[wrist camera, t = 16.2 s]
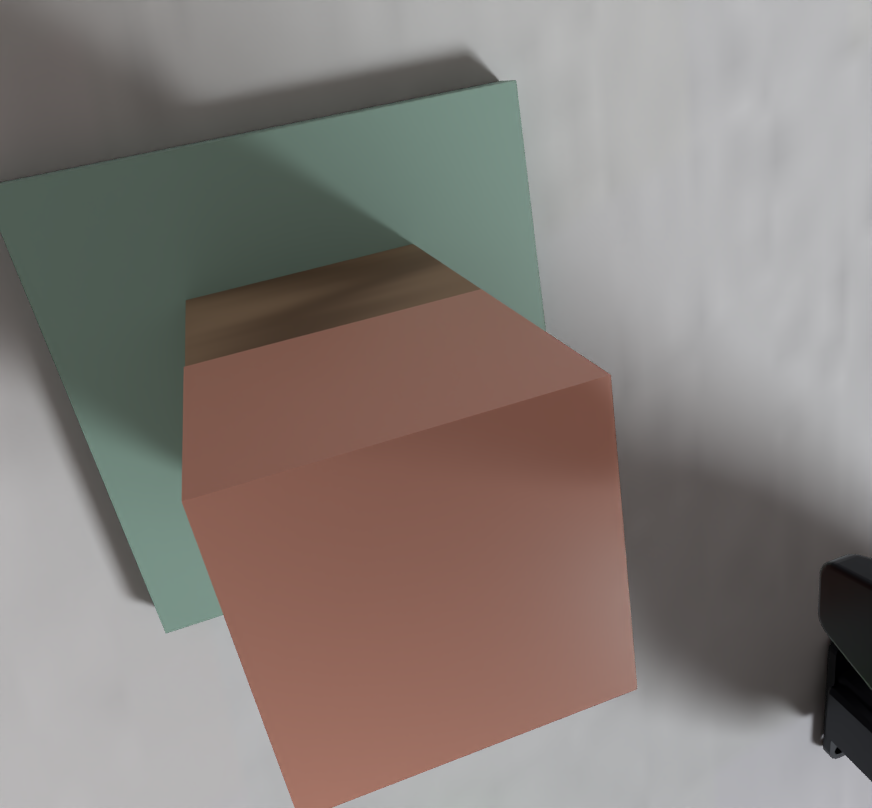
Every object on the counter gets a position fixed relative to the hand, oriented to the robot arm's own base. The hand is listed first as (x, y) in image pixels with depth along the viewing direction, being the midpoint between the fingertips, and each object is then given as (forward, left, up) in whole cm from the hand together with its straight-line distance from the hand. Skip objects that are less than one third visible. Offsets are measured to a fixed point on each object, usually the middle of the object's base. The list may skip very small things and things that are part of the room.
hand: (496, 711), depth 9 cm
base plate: (0, 0, -13) cm, 13 cm away
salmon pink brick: (0, 0, -7) cm, 7 cm away
